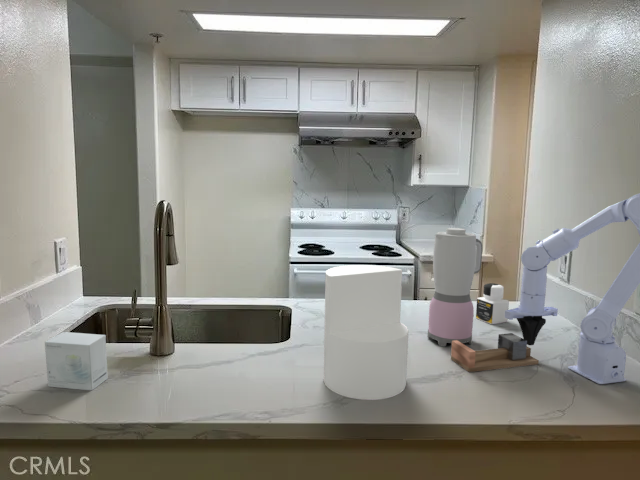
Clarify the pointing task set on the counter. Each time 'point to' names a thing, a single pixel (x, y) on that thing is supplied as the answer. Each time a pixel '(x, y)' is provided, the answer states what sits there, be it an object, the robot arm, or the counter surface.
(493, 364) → the rail board
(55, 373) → the skincare box
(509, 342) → the keeper
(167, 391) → the counter surface
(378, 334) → the cylinder
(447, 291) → the blender
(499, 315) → the medicine bottle
